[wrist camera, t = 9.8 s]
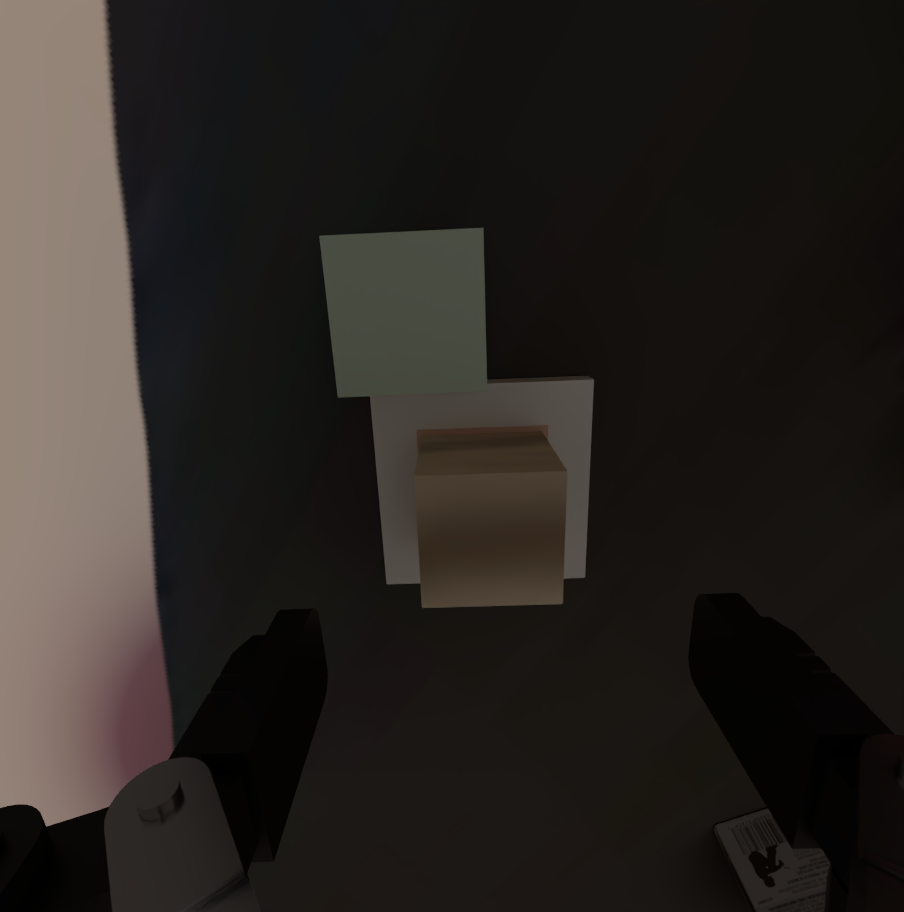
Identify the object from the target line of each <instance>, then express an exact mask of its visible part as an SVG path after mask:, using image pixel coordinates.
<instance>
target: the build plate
mask: <svg viewBox="0 0 904 912" xmlns="http://www.w3.org/2000/svg"><path fill="white" fill-rule="evenodd" d="M593 388H594V379H592V378H591V377H589V376H568V377H542V378H516V379H490V380H487V391H476V392H453V393H431V394H408V395H385V396H370V403H371V414H372V425H373V436H374V448H375V459H376V470H377V481H378V493H379V504H380V515H381V526H382V537H383V549H384V560H385V571H386V582H387V584H412V583H420V567H419V550H418V534H417V517H416V501H415V484H414V474H415V469H416V464H417V460H418V455H419V450H420V445H421V441H422V436H423V435H446V434H477V433H507V432H538V431H542V432H543V434H544V435H545V437H546V438H547V440H548V441H549V443H550V445H551V446H552V448H553V449H554V451H555V452H556V454H557V455H558V457H559V459H560V460H561V462H562V463H563V465H564V466H565V468H566V469H567V471H568V472H567V499H566V527H565V554H564V578H585V565H586V543H587V521H588V499H589V476H590V454H591V432H592V410H593Z"/></svg>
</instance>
